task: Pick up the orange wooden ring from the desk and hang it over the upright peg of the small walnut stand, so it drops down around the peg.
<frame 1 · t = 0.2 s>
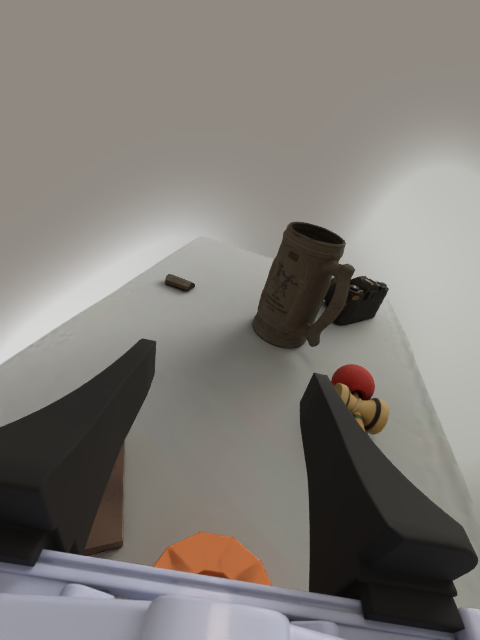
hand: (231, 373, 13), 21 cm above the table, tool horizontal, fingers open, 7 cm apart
ring: (200, 634, 21), on the table
block: (178, 286, 62), on the table
kendama: (347, 431, 40), on the table
beer stein: (287, 338, 56), on the table
film camera: (342, 312, 71), on the table
stand: (68, 500, 26), on the table
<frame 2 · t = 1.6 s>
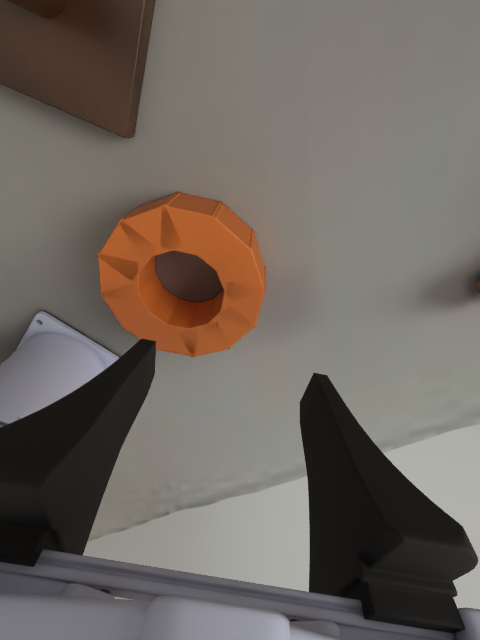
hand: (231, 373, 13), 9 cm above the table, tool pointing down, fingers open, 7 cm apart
ring: (192, 269, 21), on the table
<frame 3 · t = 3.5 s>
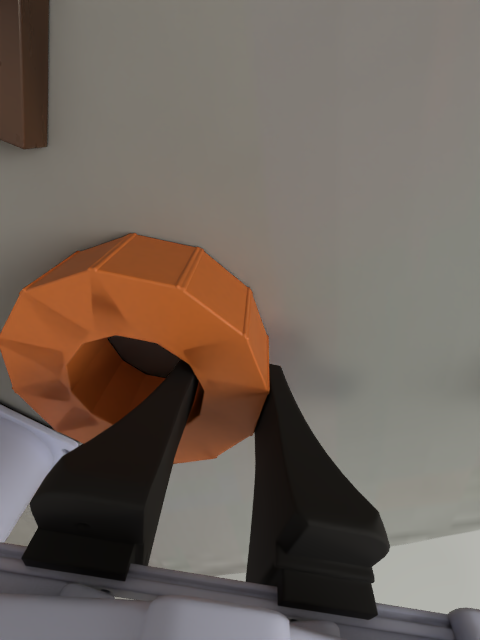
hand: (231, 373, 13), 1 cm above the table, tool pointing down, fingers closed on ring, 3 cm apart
ring: (161, 338, 14), on the table, touching gripper
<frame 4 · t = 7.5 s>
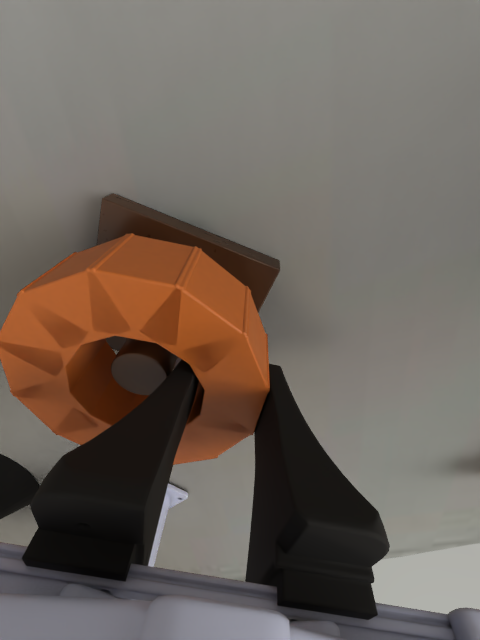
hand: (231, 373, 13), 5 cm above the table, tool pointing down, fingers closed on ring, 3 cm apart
ring: (159, 339, 14), point 4 cm above the table, touching gripper
stand: (177, 298, 18), on the table
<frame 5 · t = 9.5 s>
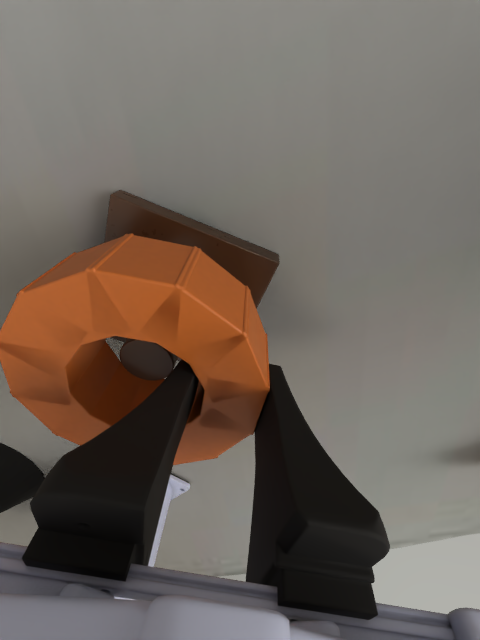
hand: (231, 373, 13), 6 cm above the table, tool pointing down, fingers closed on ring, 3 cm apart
ring: (159, 339, 14), point 5 cm above the table, touching gripper
stand: (181, 291, 18), on the table
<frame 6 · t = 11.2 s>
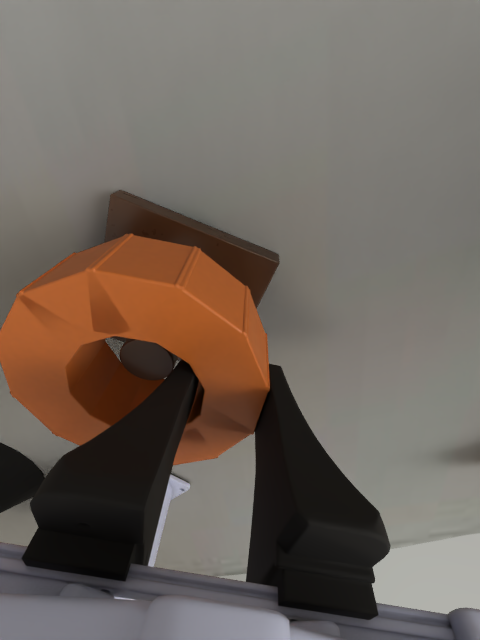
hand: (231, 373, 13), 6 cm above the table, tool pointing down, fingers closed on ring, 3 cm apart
ring: (159, 339, 14), point 5 cm above the table, touching gripper
stand: (181, 291, 18), on the table
when the fingers open (7 cm above the table, at t = 14.9 s): ring drops 5 cm, resting on stand.
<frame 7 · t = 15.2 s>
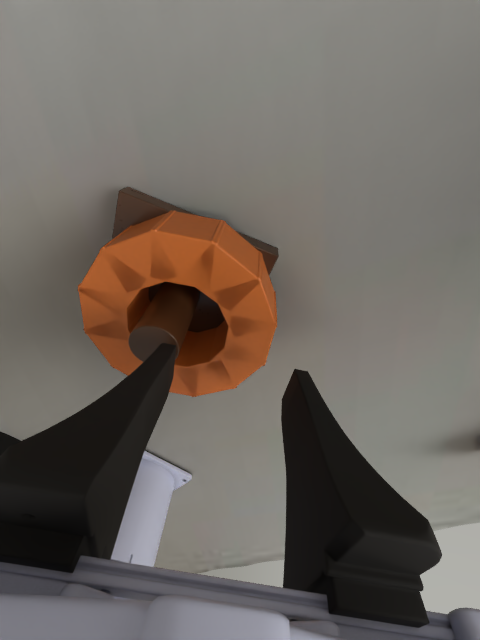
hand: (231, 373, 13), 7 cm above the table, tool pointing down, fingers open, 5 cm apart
ring: (190, 296, 18), point 1 cm above the table, touching stand
stand: (185, 284, 19), on the table
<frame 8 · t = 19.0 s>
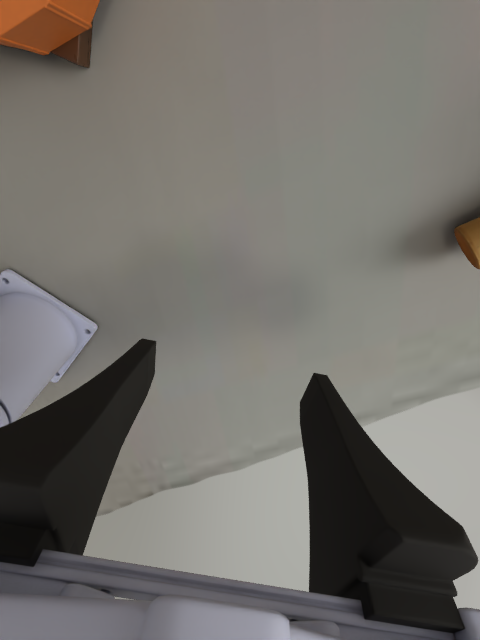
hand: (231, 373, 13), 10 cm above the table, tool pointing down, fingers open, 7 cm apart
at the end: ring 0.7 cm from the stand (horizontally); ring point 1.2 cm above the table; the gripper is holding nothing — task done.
